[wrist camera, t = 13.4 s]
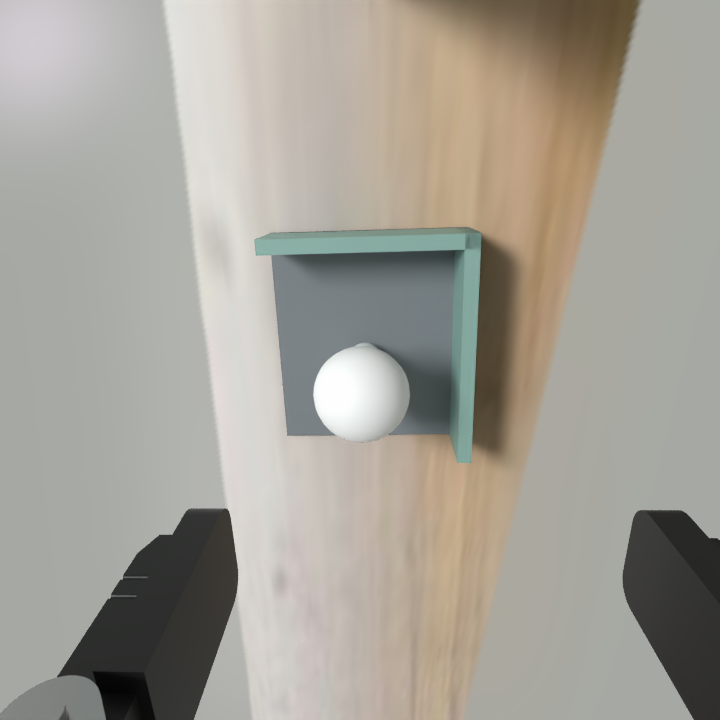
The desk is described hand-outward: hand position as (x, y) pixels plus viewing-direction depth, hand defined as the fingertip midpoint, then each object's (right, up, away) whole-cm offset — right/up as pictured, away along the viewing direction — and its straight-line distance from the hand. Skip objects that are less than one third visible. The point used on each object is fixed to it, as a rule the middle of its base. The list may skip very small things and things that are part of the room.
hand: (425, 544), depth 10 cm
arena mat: (-1, +5, +29) cm, 30 cm away
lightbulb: (-1, +4, +30) cm, 30 cm away
